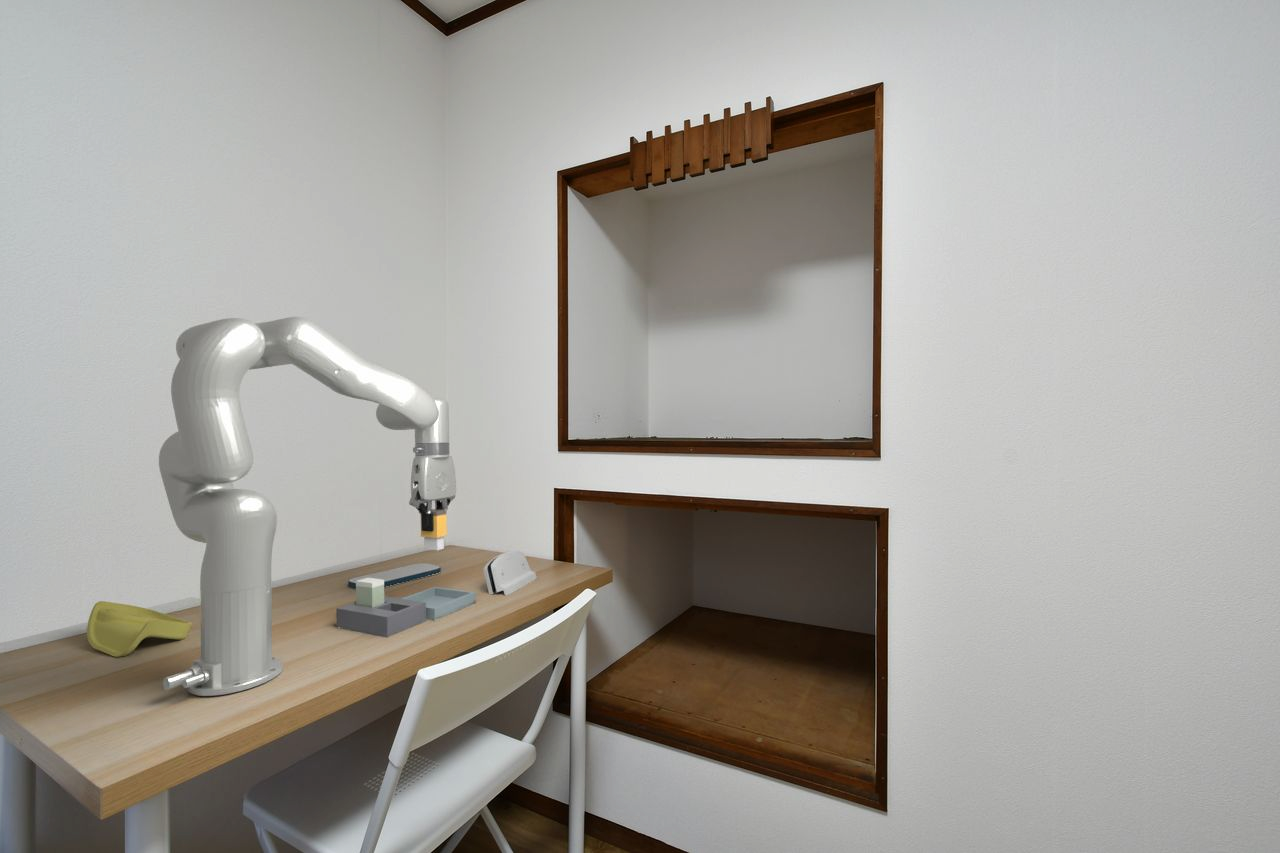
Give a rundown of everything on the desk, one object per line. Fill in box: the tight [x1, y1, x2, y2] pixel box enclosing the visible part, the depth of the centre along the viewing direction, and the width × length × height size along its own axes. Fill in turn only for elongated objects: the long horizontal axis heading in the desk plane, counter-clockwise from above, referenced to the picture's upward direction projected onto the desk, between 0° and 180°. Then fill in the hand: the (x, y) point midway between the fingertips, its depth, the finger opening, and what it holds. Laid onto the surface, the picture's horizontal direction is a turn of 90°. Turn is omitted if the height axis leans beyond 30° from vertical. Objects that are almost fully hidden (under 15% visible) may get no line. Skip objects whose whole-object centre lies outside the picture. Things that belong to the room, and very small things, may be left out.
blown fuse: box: [420, 508, 448, 551], centre depth 125 cm, size 3×5×9 cm, turn 66°
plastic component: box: [86, 600, 193, 658], centre depth 108 cm, size 20×7×10 cm
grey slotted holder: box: [483, 550, 538, 596], centre depth 143 cm, size 17×5×10 cm, turn 163°
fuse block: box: [335, 578, 427, 638], centre depth 115 cm, size 10×15×9 cm, turn 66°
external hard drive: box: [347, 562, 441, 590], centre depth 152 cm, size 24×12×2 cm, turn 144°
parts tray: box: [401, 586, 477, 621], centre depth 125 cm, size 13×13×2 cm
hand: (433, 528), depth 125 cm, fingers closed on blown fuse, 3 cm apart
